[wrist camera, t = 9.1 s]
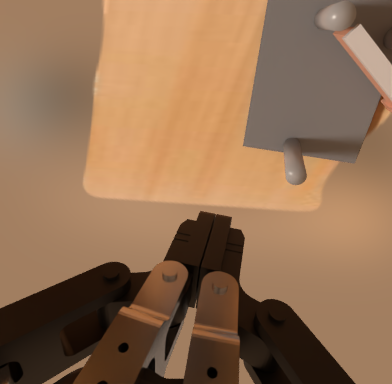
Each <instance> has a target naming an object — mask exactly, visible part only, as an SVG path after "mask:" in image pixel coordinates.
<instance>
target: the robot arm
mask: <svg viewBox="0 0 392 384" xmlns="http://www.w3.org/2000/svg"><path fill="white" fill-rule="evenodd" d="M215 216H216V218H215ZM231 219H232V217H228V216H224V215H218V214H217V215H216V214H213V213H208V212H203V211H200V213H199V216H198V218H197V221H194V220H189V219H187V220H186V221H185V222H183V223H182V224H181V225H180V227H179V229H178V231H177V234H176V235H175V237H174V240H173V241H172V244H171V246H170V248H169V250H168V252H167V255H166V257H165V259H164V261H163V262H161V263H159V264H157V265H156V266H155V267H154V268H153V270H152V271H149V272H139V273H130V270H129V268H128V267H127V266H126V265H125V264H123V263H120V262H109V263H105V264H103V265H100V266H98V267H96V268H93V269H91V270H89V271H86V272H84V273H82V274H79V275H77V276H75V277H73V278H70V279H68V280H65V281H63V282H61V283H58V284H56V285H54V286H51V287H49V288H47V289H45V290H42V291H40V292H37V293H35V294H33V295H30V296H28V297H26V298H23V299H21V300H19V301H16V302H14V303H12V304H9V305H7V306H5V307H3V308H0V384H42V383H44V382H46V381H47V380H49V379H51V378H52V377H54V376H56V375H57V374H59V373H61V372H62V371H64V370H66V369H67V368H69V367H70V366H72V365H74V364H76V363H77V362H79V361H81V360H82V359H84V358H86V357H87V356H89V355H91V356H90V357H89V359H88V361H87V362H86V364H85V365H84V367H82V368H79V369H77V370H75V371H73V372H71V373H69V374H67V375H66V376H64V377H63V378H61V379H60V380H58V381H57V382H55V383H54V384H239V358H241V359H243V361H244V365H245V368H246V370H247V371H248V373H249V375H250V377H251V378H252V380H253V382H254V383H255V384H355V383H354V382H353V380H352V379H351V378H350V377H349V376H348V374H347V373H346V372H345V371H344V370H343V369H342V367H341V366H340V365H339V364H338V363H337V361H336V360H335V359H334V358H333V357H332V356H331V354H330V353H329V352H328V351H327V350H326V349H325V347H324V346H323V345H322V344H321V342H320V341H319V340H318V339H317V338H316V337H315V335H314V334H313V333H312V332H311V331H310V329H309V328H308V327H307V326H306V325H305V324H304V322H303V321H302V320H301V319H300V318H299V316H297V314H296V313H295V312H294V311H293V310H292V308H291V307H290V306H288V305H287V304H285V303H284V302H282V301H279V300H275V299H267V300H264V301H262V302H259V301H257V300H255V299H253V298H251V297H250V296H249V295H247V294H246V293H245V292H244V291H243V289H242V288H241V286H240V283H239V276H240V268H241V262H242V254H243V247H244V239H245V238H244V235H243V233H242V231H241V230H239V229H234V228H230V225H231ZM196 300H197V303H196ZM195 303H196V308H197V312H196V317H195V323H194V327H193V331H192V336H191V342H190V347H189V353H188V359H187V365H186V370H185V376H184V379H166V378H164V374H165V370H166V367H167V364H168V362H169V359H170V356H171V354H172V351H173V349H174V346H175V344H176V341H177V339H178V336H179V334H180V331H181V329H182V326H183V323H184V318H185V315H186V313H187V309H188V307H192V308H194V307H195Z"/></svg>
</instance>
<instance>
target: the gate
mask: <svg viewBox="0 0 392 384" xmlns="http://www.w3.org/2000/svg"><path fill="white" fill-rule="evenodd" d="M333 35H334V36H335V37H336V39H337V40H338V41H339V42H340V44H341V45H342V46H343V47H344V49H345V50H346V51H347V52H348V54H349V55H350V56H351V57H352V59H353V60H354V61H355V62H356V64H357V65H358V66H359V68H360V69H361V70H362V71H363V73H364V74H365V75H366V76H367V78H368V79H369V80H370V81H371V83H372V84H373V85H374V86H375V88H376V89H377V90H378V91H379V93H380V94H381V95H382V96H383V98H384V99H382V100H381V102H382V104H383V105H384V106H385V107H386V109H388V110H389V111H390V112H392V64H391V63H390V62H389V61H388V59H387V58H386V57H385V55H384V54H383V53H382V51H381V50H380V49H379V47H378V46H377V45H376V44H375V42H374V41H373V40H372V38H371V37H370V36H369V34H368V33H367V32H366V30H365V29H364V28H363V27H362V25H361V24H357V25H356V26H355V27H349V28H347V29H345V30H343V31H335V32H334V33H333Z"/></svg>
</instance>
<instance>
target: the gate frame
mask: <svg viewBox="0 0 392 384" xmlns="http://www.w3.org/2000/svg"><path fill="white" fill-rule="evenodd" d="M357 24H361V25H362V27H363V28H364V29H365V30H366V32H367V33H368V34H369V36H370V37H371V38H372V40H373V41H374V42H375V44H376V45H377V46H378V47H379V49H380V50H381V51H382V53H383V54H384V55H385V57H386V58H387V59H388V61H389V62H390V63H391V64H392V0H268V3H267V9H266V15H265V21H264V26H263V32H262V38H261V44H260V50H259V56H258V62H257V67H256V73H255V79H254V85H253V91H252V97H251V102H250V108H249V114H248V120H247V126H246V132H245V137H244V143H243V146H246V147H252V148H259V149H265V150H272V151H278V152H284V161H285V173H286V180H287V181H288V182H289V183H290V184H292V185H299V184H302V183H303V182H304V181H305V180H306V177H307V174H306V170H305V165H304V161H303V156H302V155H304V156H310V157H316V158H323V159H329V160H335V161H342V162H348V163H355V161H356V159H357V156H358V153H359V151H360V149H361V146H362V144H363V141H364V138H365V136H366V133H367V131H368V128H369V126H370V123H371V121H372V118H373V115H374V113H375V110H376V108H377V105H378V103H379V100H380V98H381V94H380V93H379V91H378V90H377V89H376V88H375V86H374V85H373V84H372V83H371V81H370V80H369V79H368V78H367V76H366V75H365V74H364V73H363V71H362V70H361V69H360V68H359V66H358V65H357V64H356V62H355V61H354V60H353V59H352V57H351V56H350V55H349V54H348V52H347V51H346V50H345V49H344V47H343V46H342V45H341V44H340V42H339V41H338V40H337V39H336V37H335V36H334V35H333V33H334V32H335V31H343V30H345V29H347V28H349V27H355V26H356V25H357Z"/></svg>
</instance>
